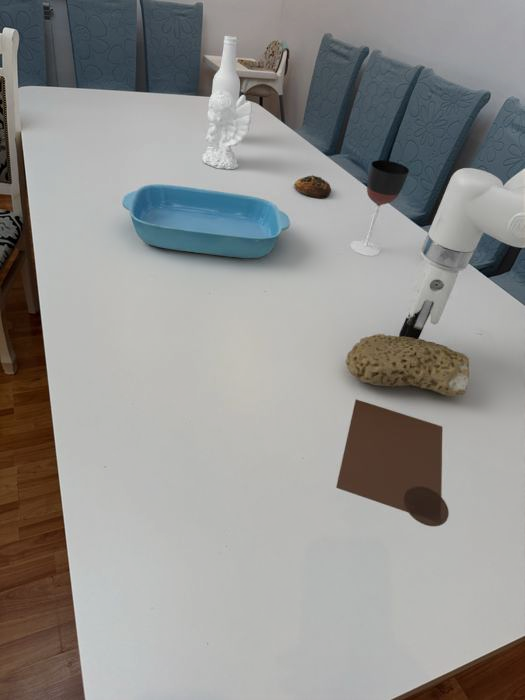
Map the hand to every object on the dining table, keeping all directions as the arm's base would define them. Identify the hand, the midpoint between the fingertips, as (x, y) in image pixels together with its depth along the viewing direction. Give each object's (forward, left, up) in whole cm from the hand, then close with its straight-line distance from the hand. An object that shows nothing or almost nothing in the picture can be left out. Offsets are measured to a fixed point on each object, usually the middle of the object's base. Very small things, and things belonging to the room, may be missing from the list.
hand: (407, 339), depth 90 cm
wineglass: (-19, -34, -3) cm, 39 cm away
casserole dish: (+17, -49, -3) cm, 52 cm away
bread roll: (-26, -67, -3) cm, 72 cm away
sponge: (+6, +6, -3) cm, 9 cm away
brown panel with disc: (+19, +18, -3) cm, 26 cm away
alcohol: (-19, -112, -3) cm, 114 cm away
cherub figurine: (-9, -92, -3) cm, 93 cm away
